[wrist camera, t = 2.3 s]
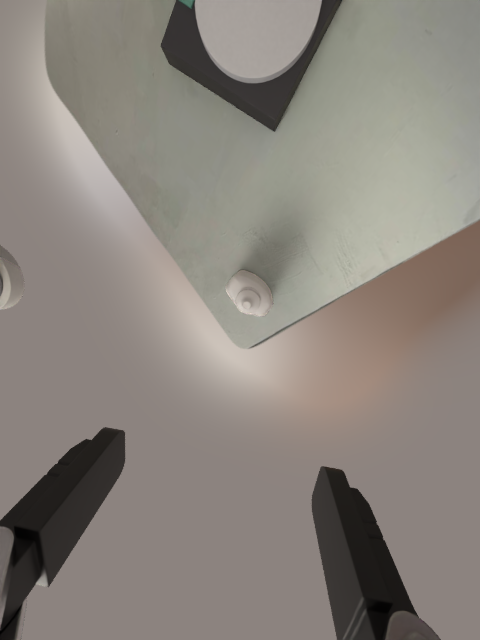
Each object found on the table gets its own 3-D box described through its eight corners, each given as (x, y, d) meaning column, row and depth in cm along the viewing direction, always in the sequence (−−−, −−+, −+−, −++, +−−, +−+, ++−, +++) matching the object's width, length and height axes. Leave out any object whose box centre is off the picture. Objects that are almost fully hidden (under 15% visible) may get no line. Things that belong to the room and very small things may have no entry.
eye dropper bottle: (246, 311, 33) (237, 341, 22) (229, 275, 32) (211, 286, 21) (274, 299, 33) (281, 323, 21) (258, 261, 31) (256, 266, 20)
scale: (168, 63, 26) (156, 38, 23) (227, -101, 22) (222, -158, 19) (274, 131, 27) (276, 116, 24) (349, -15, 23) (363, -56, 20)
